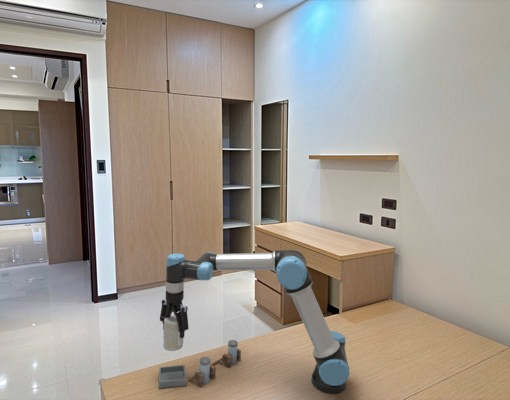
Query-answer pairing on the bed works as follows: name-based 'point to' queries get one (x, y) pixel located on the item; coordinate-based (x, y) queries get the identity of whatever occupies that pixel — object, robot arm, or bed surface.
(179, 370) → the tray
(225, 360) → the clip rack
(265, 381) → the bed surface
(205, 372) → the grey rounded cylinder
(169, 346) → the light grey canister
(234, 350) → the fuse
